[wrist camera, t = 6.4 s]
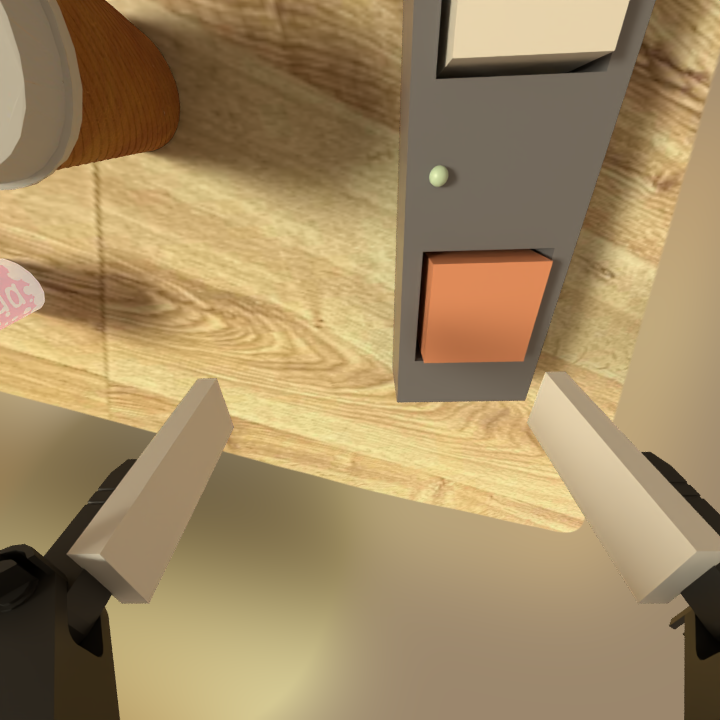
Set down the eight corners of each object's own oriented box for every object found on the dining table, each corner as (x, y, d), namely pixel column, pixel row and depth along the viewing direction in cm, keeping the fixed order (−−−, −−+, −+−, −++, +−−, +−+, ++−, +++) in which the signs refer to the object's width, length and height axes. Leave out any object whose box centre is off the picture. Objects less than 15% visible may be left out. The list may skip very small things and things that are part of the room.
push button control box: (418, -512, 11) (465, -1101, 6) (734, -543, 10) (1076, -1195, 5) (392, 368, 30) (397, 408, 25) (502, 366, 29) (529, 406, 25)
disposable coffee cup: (186, -21, 17) (-97, -312, 6) (219, 183, 22) (91, 200, 12) (5, -34, 16) (-578, -355, 6) (81, 174, 21) (-172, 184, 11)
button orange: (420, 245, 23) (433, 264, 18) (517, 242, 22) (552, 261, 18) (414, 331, 26) (424, 363, 22) (497, 329, 26) (523, 361, 22)
